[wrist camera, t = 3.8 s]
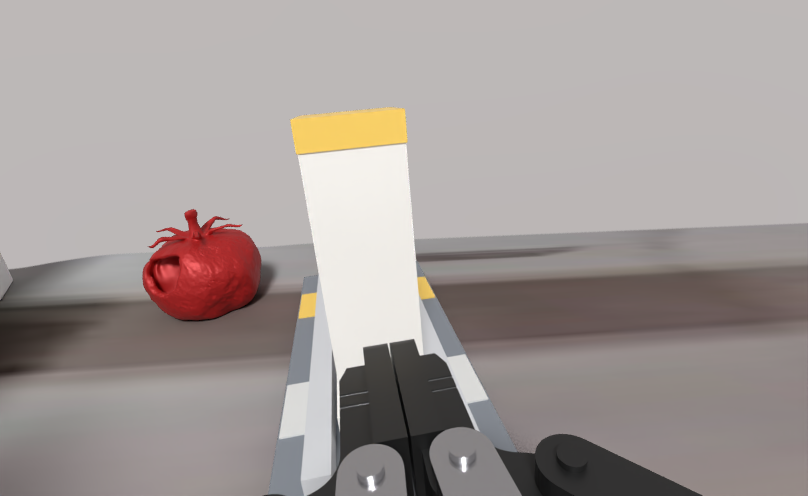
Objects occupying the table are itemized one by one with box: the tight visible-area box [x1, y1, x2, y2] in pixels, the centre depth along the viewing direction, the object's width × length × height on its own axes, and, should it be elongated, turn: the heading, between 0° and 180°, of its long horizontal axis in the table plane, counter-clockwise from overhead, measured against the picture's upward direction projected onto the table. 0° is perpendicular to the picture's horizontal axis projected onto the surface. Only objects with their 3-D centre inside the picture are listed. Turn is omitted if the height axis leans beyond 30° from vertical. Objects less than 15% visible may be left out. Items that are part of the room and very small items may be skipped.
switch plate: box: [268, 261, 517, 496], centre depth 28 cm, size 24×11×3 cm, turn 9°
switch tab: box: [290, 107, 424, 430], centre depth 19 cm, size 4×5×15 cm
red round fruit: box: [143, 209, 261, 320], centre depth 37 cm, size 10×10×9 cm
